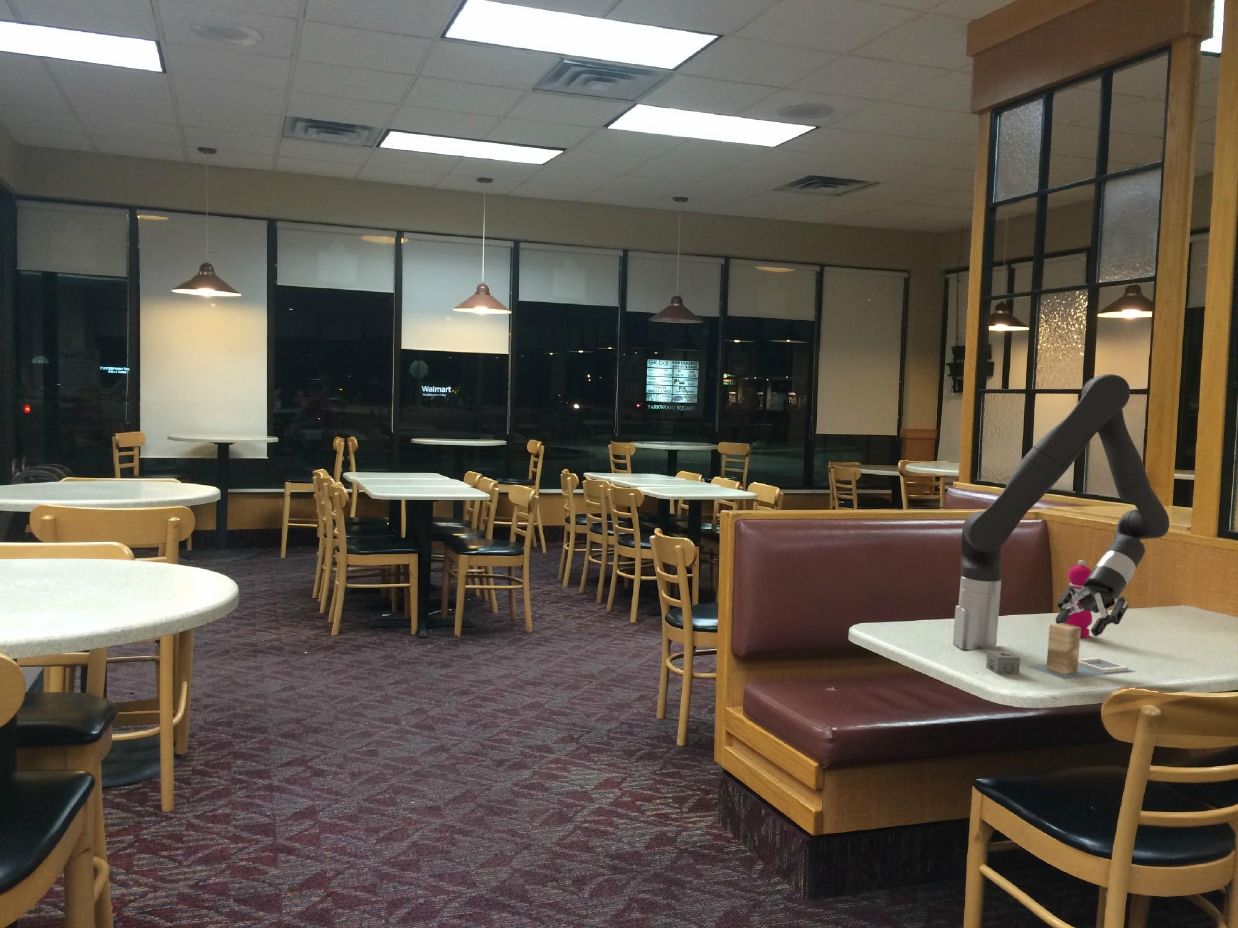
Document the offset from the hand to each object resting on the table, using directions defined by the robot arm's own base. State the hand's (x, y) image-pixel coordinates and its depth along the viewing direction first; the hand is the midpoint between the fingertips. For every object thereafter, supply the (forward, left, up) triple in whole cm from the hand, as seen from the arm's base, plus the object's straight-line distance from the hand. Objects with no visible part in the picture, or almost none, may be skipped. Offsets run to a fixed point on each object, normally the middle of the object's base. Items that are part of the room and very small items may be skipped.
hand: (1076, 629), depth 214 cm
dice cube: (-18, -4, -10) cm, 21 cm away
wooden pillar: (-3, -2, -9) cm, 10 cm away
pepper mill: (+20, +39, -10) cm, 45 cm away
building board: (+2, 0, -10) cm, 10 cm away
